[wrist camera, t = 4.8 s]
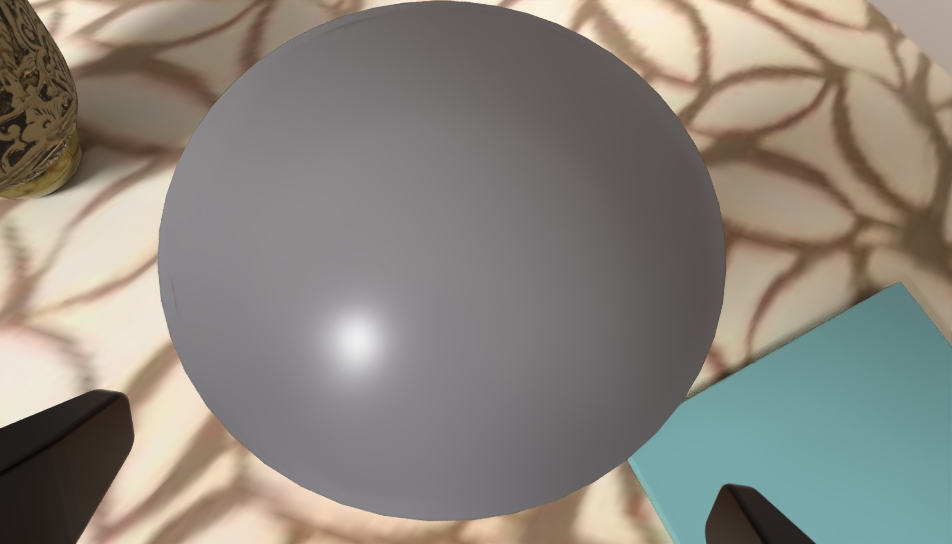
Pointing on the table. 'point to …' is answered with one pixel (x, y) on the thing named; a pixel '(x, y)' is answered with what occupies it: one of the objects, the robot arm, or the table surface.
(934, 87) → the table surface
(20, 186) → the cup
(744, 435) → the mat
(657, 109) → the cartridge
